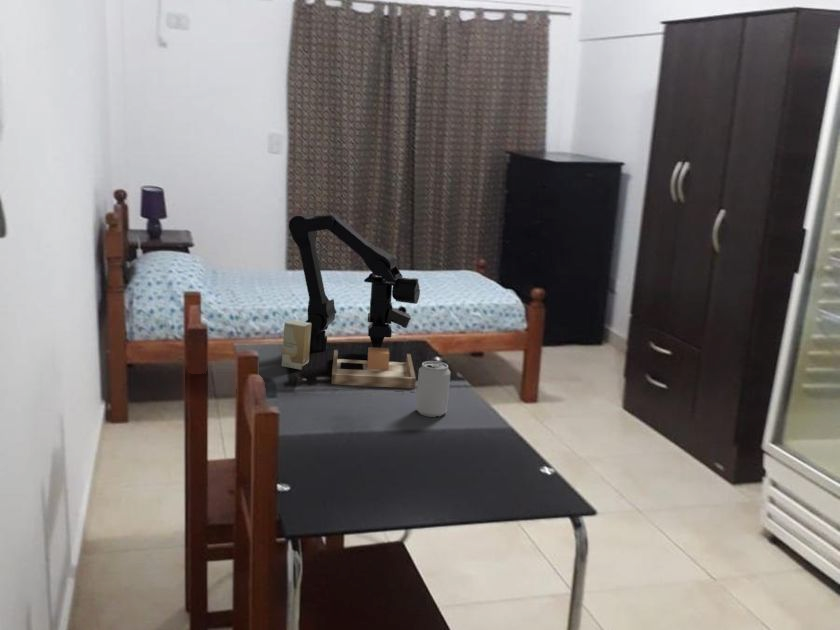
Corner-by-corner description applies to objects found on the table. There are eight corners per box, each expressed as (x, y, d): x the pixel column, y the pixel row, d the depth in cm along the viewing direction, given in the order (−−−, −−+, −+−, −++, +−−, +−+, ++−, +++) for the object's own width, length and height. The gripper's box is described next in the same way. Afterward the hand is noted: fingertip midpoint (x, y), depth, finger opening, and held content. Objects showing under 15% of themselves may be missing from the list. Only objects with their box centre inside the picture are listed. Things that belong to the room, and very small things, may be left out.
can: (410, 408, 204) (413, 360, 202) (438, 406, 208) (442, 358, 205) (423, 419, 198) (427, 369, 195) (452, 416, 201) (456, 367, 198)
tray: (331, 388, 214) (331, 374, 213) (333, 363, 235) (334, 350, 235) (414, 392, 216) (415, 378, 215) (409, 366, 237) (410, 354, 236)
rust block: (367, 368, 228) (368, 352, 227) (367, 362, 234) (368, 347, 233) (388, 369, 229) (389, 353, 228) (387, 364, 234) (388, 348, 233)
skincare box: (281, 366, 229) (282, 322, 226) (288, 362, 233) (290, 319, 230) (303, 370, 227) (305, 325, 224) (309, 366, 231) (312, 322, 228)
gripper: (412, 308, 227) (407, 365, 230) (408, 293, 245) (404, 346, 249) (370, 306, 226) (366, 362, 230) (369, 291, 244) (365, 344, 248)
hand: (377, 353), depth 239 cm, fingers closed
